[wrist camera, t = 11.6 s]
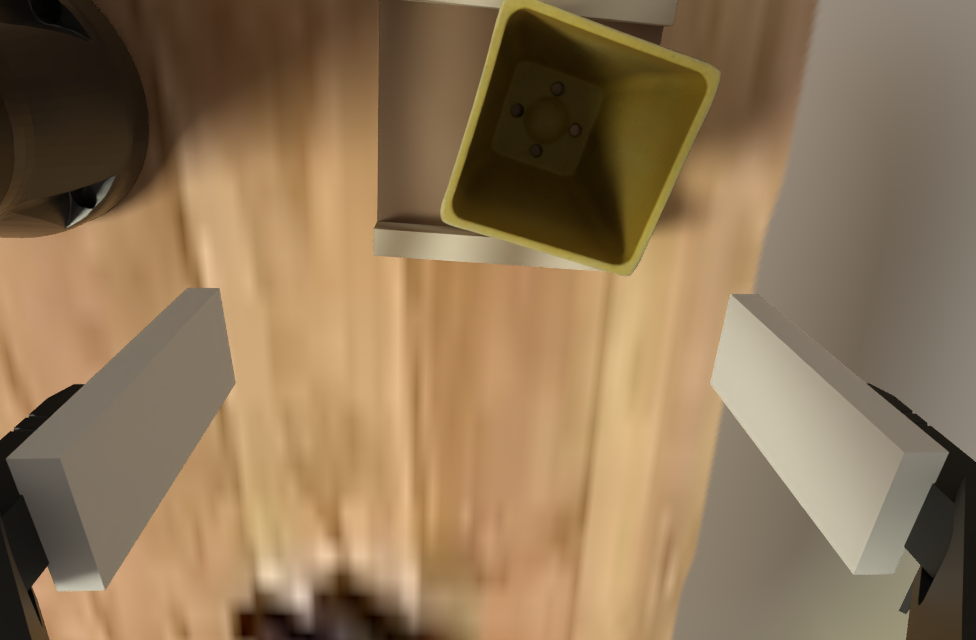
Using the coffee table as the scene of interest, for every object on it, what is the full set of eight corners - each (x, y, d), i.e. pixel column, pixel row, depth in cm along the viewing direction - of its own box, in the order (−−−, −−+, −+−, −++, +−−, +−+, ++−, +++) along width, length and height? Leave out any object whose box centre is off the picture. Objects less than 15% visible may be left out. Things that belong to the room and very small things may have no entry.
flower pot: (590, 224, 34) (632, 281, 25) (442, 177, 32) (436, 222, 24) (655, 64, 30) (728, 70, 22) (492, 3, 29) (506, -15, 20)
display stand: (385, 227, 37) (373, 255, 32) (389, -29, 31) (375, -44, 26) (603, 243, 38) (625, 272, 33) (646, -2, 32) (680, -11, 27)
